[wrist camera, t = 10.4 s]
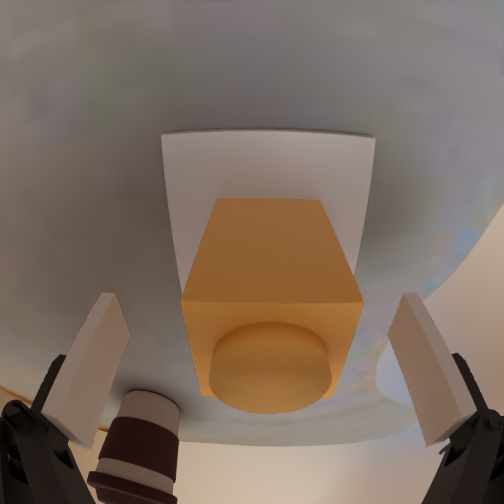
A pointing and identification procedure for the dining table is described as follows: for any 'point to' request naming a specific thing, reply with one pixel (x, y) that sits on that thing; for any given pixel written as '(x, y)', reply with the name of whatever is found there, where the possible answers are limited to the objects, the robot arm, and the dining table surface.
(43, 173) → the dining table surface
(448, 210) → the dining table surface
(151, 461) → the coffee cup
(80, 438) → the robot arm
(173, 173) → the white pegged board
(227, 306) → the orange toy brick
